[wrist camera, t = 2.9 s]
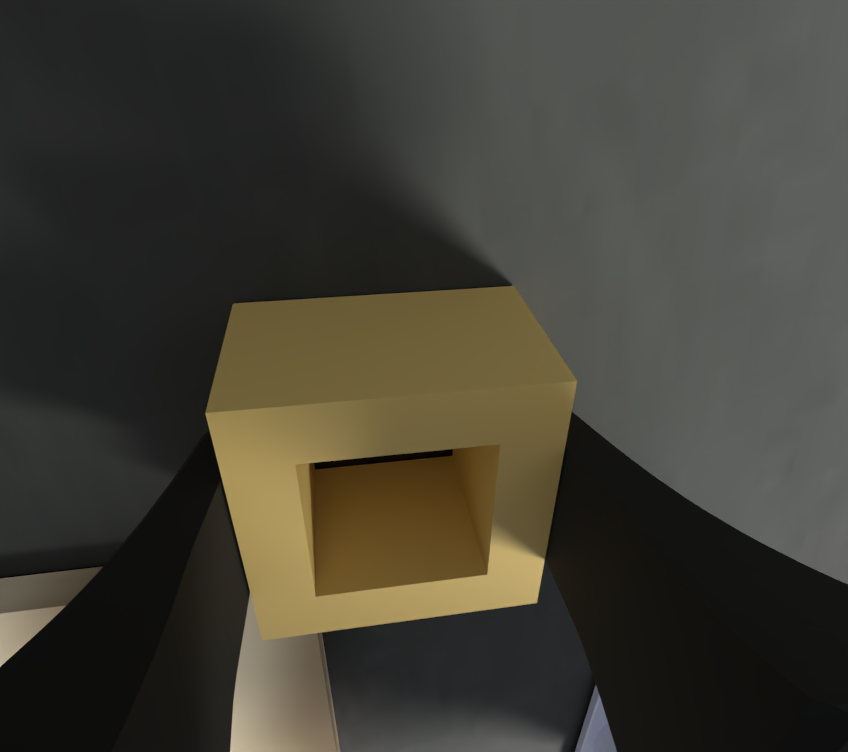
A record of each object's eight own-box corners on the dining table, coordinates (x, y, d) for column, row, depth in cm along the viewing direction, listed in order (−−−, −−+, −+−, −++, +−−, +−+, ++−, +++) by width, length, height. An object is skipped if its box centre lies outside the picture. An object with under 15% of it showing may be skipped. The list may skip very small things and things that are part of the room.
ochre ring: (513, 286, 12) (577, 381, 9) (493, 484, 15) (537, 602, 12) (233, 303, 11) (205, 412, 8) (272, 508, 14) (262, 640, 11)
